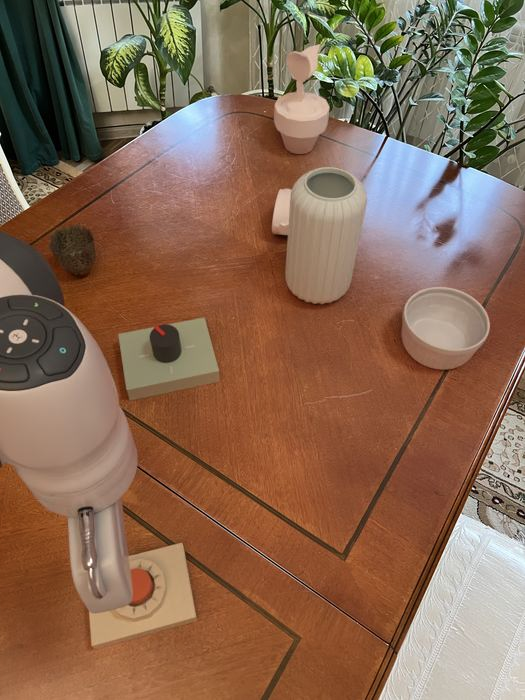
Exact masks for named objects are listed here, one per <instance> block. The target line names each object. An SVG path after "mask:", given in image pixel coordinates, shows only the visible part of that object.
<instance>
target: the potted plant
mask: <svg viewBox="0 0 525 700" xmlns="http://www.w3.org/2000/svg"><path fill="white" fill-rule="evenodd" d="M321 50H322V41H320V42H319V43H318V44H315V45H312V46H308V47H307V48H305V49H304V50H302V51H301V52H300V51H297V50H294V51H292V52H290V53H288V54H287V57H286V62H285V63H286V65H287V67H288V70H289V74H290V76H291V78H292V79H293V80H295V81H296V82H295V83H296V91H293V92H287V93H286V94H284V95H281V96H279V97H278V98H277V100H276V101H275V103H274V105H273V123H274V125H275V128H276V130H277V131H278V132H280V136H281V139H282V142H283V145H284V148H285V150H286V151H288V152H289V153H291V154H295V155H305V154H308V153H310V152H312V151H313V149H314V147H315V145H316V143H317V141H318V138H319V136H320V135H321V134H323V133H325V132H326V129H327V128H328V124H329V118H330V117H329V116H330V105H329V103H328V101H327V99H326V98H324V97H322V96H321V95H319V94H317V93H313V92H307V91H305V85H304V83H305V82H306V81H307V80H308V79H310V78H311V77H312V75H314V74H315V72H316V71H317V70H318V61H319V58H320V57H321V56H320V55H321ZM324 67H325V66H324V64H322V67H321V69H322V70H324Z"/></svg>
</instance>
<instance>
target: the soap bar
mask: <svg viewBox="0 0 525 700" xmlns="http://www.w3.org/2000/svg"><path fill="white" fill-rule="evenodd" d="M291 191H292V189H291V188H286V187H285V188H283V189H282V188H280V189H279V190H278V192H277V196H276V199H275V204H274V208H273V214H272V220H271V221H272V222H271V233H272V235H279V236H280V235H281V236H288V227H289V212H290V197H291Z"/></svg>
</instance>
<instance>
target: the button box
mask: <svg viewBox="0 0 525 700" xmlns="http://www.w3.org/2000/svg"><path fill="white" fill-rule="evenodd" d="M187 561H188V560H187V556H186V551H185V546H184V543H183V542H179V543H175V544H171V545H167V546H162V547H159V548H155V549H151V550H147V551H144V552H140V553H135V554H132V555H129V563H130V570H131V569H135V568H140V569H143V570H145V571H146V572H147V573H148V574H149V576H150V578H151V580H152V583H153V590H152V593H151V595H150V597H149V598H148V599H147V600H146V601H145V602H143V603H141V604H129V605H127V606H124V607H121V608H118V609H114V610H110V611H106V612H102V613H91V612H90V611H89V610H88V619H89V633H90V644H91V647H92V648H93V649H95V650H100V649H103V648H107V647H110V646H115V645H117V644H122V643H125V642H129V641H132V640H136V639H139V638H142V637H146V636H150V635H154V634H157V633H160V632H165V631H168V630H170V629H174V628H177V627H182V626H185V625H189V624H193V623H196V622H198V616H197V612H196V611H197V610H196V605H195V600H194V595H193V589H192V584H191V578H190V573H189V568H188V562H187Z"/></svg>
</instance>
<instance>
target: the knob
mask: <svg viewBox="0 0 525 700" xmlns="http://www.w3.org/2000/svg"><path fill="white" fill-rule="evenodd" d="M153 327H154V329H153V330H152V331H151V333H150V342H151V347H152V351H153V355H154V357H155V359H156V360H158V361H159V362H162V363H170V362H173V361H175V360H177V359H178V358H179V357H180V355H181V352H182V349H181V343H180V337H179V332H178V330H177V329H176V328H175V327H174V326H172V325H167V324H159V325H155V326H153Z"/></svg>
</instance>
